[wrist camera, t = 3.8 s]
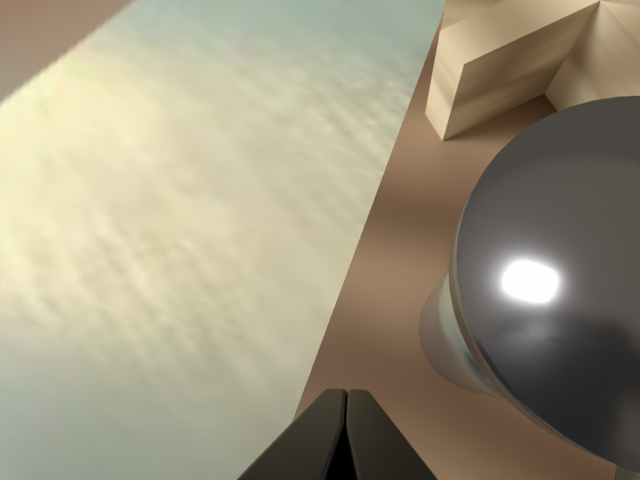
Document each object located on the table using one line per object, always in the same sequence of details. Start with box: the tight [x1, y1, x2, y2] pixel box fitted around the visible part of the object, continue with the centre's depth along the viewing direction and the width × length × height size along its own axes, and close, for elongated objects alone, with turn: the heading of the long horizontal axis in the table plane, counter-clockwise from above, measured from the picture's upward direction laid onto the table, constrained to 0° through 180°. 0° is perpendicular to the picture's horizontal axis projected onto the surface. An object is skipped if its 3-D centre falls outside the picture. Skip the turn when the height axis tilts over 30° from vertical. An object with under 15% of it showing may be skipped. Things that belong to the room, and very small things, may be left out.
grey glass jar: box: [419, 96, 640, 473], centre depth 11 cm, size 5×5×11 cm
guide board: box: [292, 12, 617, 480], centre depth 17 cm, size 23×11×1 cm, turn 159°
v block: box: [425, 0, 640, 141], centre depth 16 cm, size 6×10×5 cm, turn 69°
